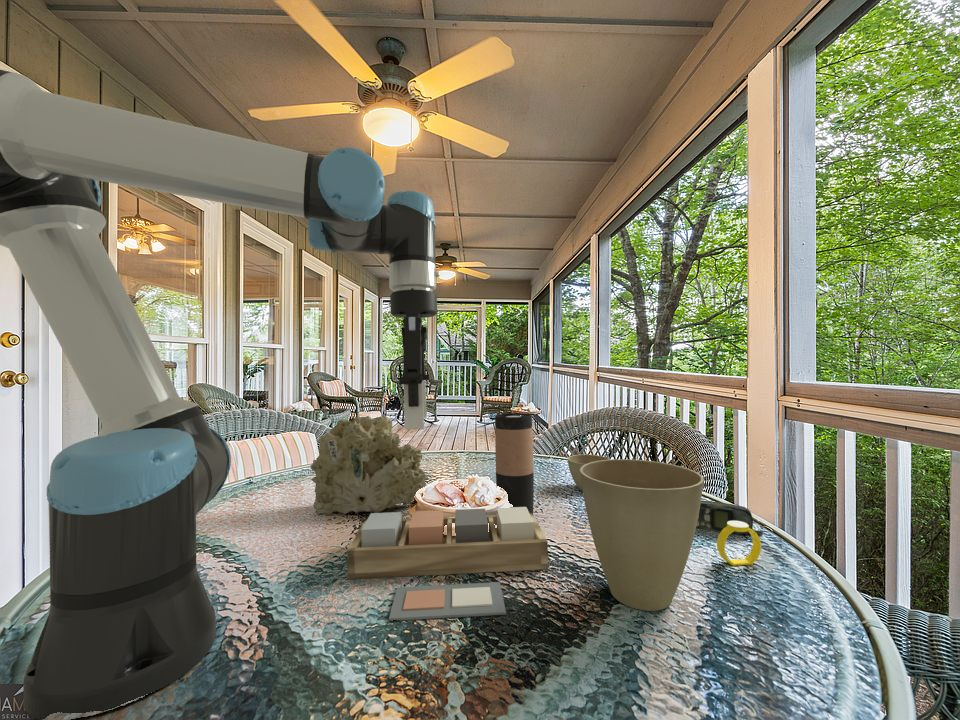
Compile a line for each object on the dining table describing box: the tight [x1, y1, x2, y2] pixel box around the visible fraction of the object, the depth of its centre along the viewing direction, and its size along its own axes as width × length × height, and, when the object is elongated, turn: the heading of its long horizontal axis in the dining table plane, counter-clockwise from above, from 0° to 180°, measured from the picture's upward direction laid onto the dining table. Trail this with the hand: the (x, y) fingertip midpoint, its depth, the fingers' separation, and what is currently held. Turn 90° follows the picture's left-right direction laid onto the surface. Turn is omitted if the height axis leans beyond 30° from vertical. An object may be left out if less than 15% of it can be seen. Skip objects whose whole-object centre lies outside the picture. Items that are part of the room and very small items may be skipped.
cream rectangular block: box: [496, 507, 534, 541], centre depth 67 cm, size 7×5×3 cm
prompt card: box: [388, 581, 507, 622], centre depth 54 cm, size 7×14×1 cm, turn 93°
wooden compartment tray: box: [346, 512, 549, 580], centre depth 67 cm, size 12×29×4 cm, turn 93°
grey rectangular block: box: [454, 508, 489, 543], centre depth 67 cm, size 7×5×3 cm
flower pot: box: [566, 454, 611, 491], centre depth 100 cm, size 10×10×7 cm
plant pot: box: [580, 458, 705, 612], centre depth 54 cm, size 15×15×16 cm
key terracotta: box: [409, 509, 445, 545], centre depth 66 cm, size 7×5×3 cm
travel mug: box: [494, 412, 535, 514], centre depth 84 cm, size 8×8×20 cm
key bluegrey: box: [361, 511, 402, 547], centre depth 66 cm, size 7×5×3 cm
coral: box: [309, 415, 429, 515], centre depth 89 cm, size 25×10×20 cm, turn 87°
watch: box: [716, 521, 762, 567], centre depth 62 cm, size 6×3×6 cm, turn 94°
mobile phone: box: [696, 499, 764, 536], centre depth 75 cm, size 5×3×15 cm
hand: (416, 422), depth 68 cm, fingers open, 13 cm apart
